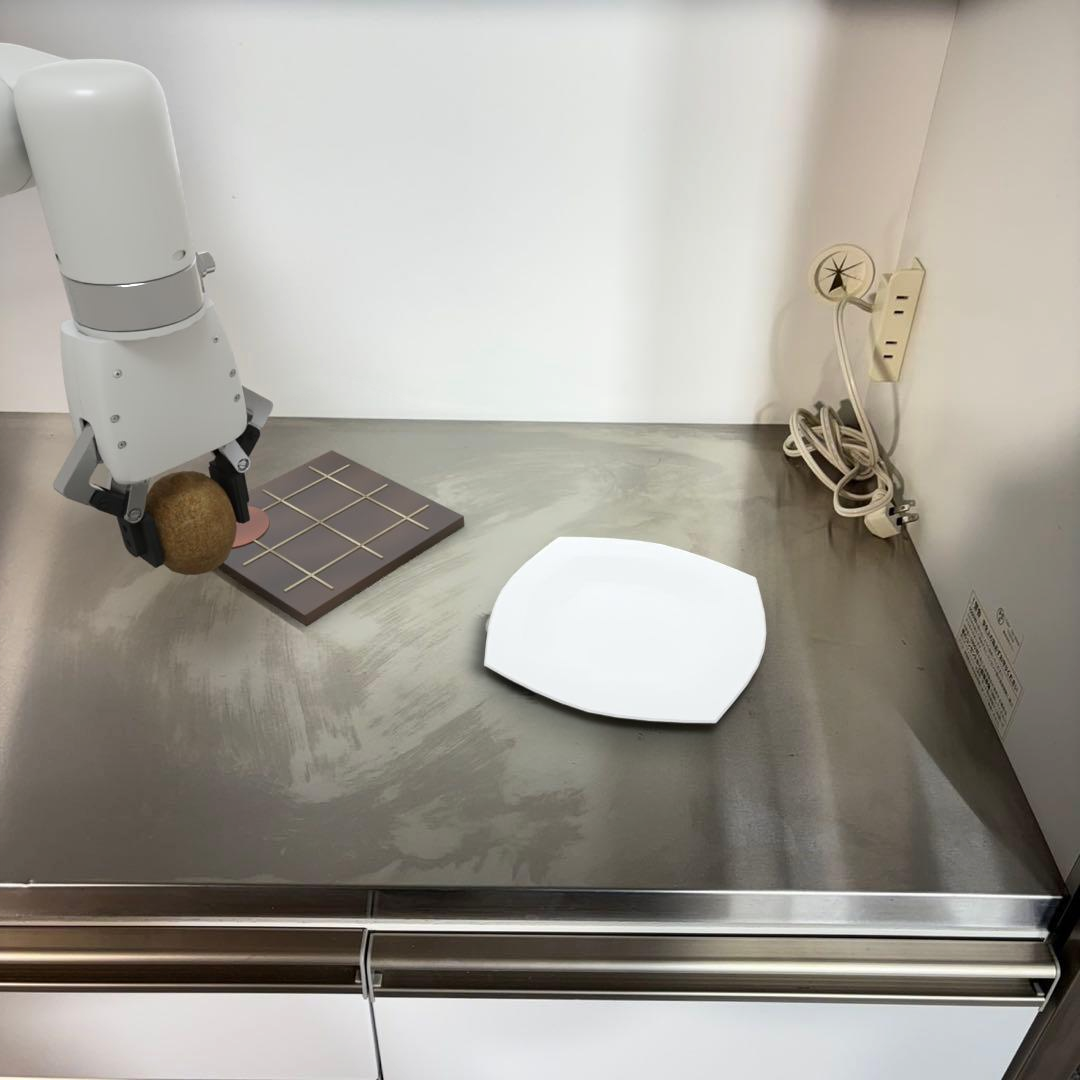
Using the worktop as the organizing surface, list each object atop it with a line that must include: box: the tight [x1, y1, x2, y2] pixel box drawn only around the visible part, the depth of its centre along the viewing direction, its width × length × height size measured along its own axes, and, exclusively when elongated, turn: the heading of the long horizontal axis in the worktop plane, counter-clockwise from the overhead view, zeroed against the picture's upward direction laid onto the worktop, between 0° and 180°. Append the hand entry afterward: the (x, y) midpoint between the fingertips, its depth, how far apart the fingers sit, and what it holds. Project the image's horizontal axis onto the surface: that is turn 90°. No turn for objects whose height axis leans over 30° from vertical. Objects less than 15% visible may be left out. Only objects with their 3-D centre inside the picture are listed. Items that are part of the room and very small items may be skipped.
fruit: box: [144, 470, 237, 576], centre depth 68 cm, size 6×6×8 cm
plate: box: [483, 536, 767, 725], centre depth 83 cm, size 23×23×2 cm
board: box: [217, 449, 465, 627], centre depth 95 cm, size 20×20×1 cm
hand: (192, 534), depth 68 cm, fingers closed on fruit, 6 cm apart
